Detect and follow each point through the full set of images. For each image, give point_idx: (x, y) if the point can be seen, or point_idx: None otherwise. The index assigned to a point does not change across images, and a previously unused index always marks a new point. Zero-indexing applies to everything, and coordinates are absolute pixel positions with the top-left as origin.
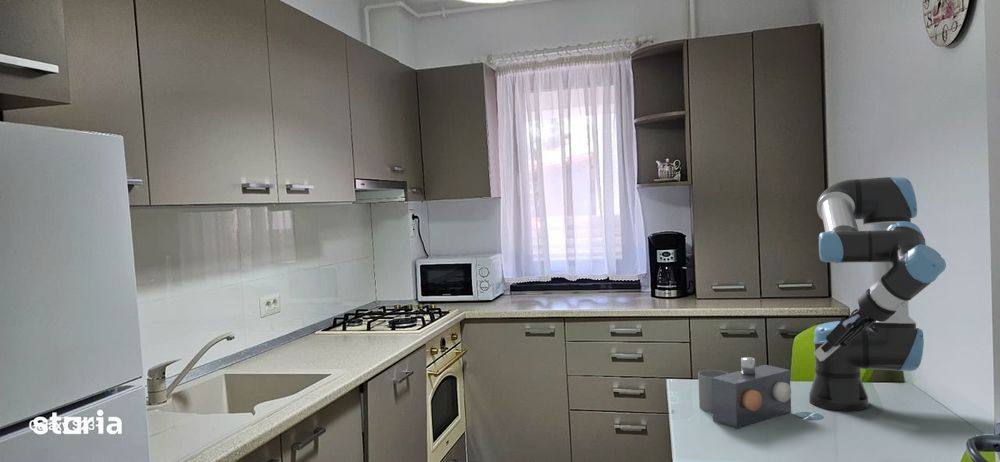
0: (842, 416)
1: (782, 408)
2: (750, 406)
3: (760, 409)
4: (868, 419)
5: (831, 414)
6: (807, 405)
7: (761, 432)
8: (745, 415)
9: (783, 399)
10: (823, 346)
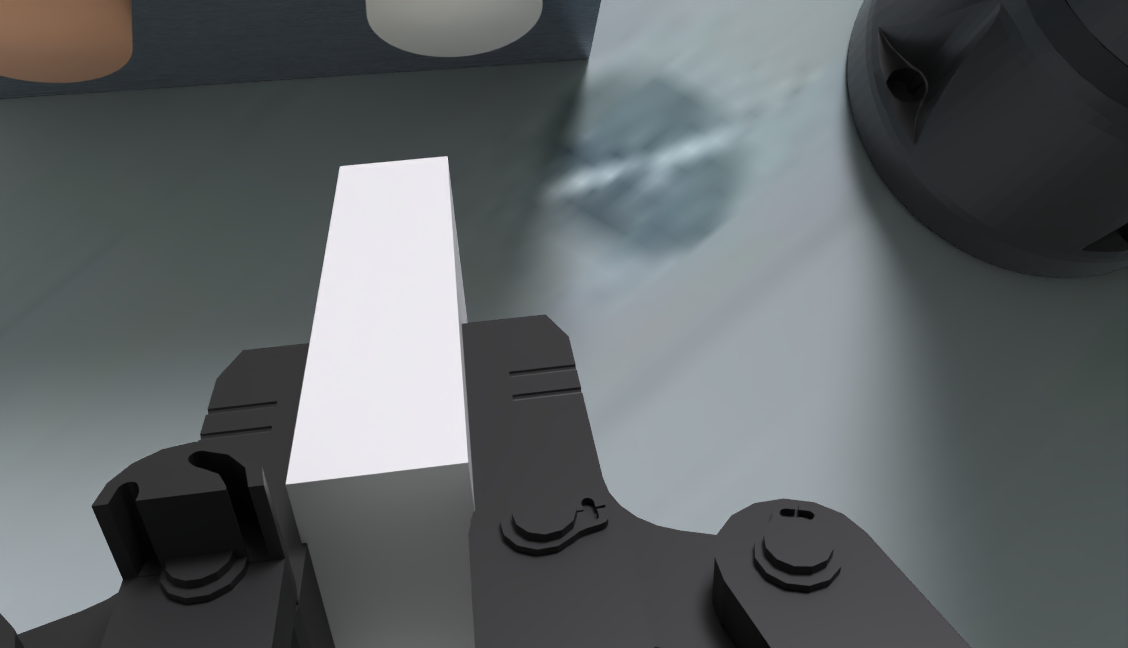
0: (834, 294)
1: None
2: None
3: (222, 32)
4: (942, 433)
5: (802, 226)
6: (812, 13)
7: (66, 233)
8: None
9: (435, 43)
10: (216, 418)
